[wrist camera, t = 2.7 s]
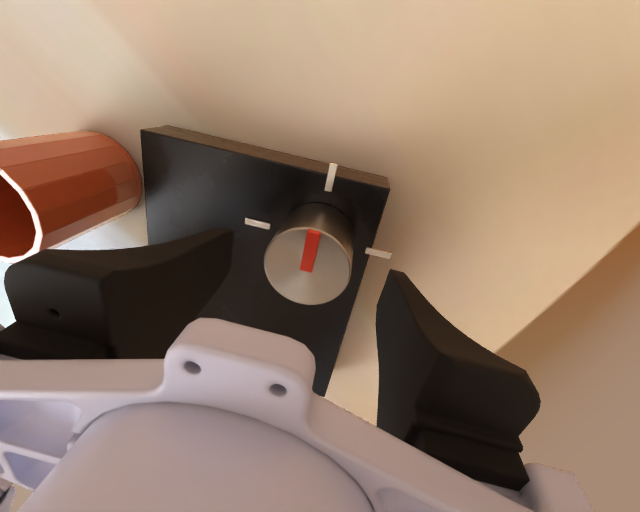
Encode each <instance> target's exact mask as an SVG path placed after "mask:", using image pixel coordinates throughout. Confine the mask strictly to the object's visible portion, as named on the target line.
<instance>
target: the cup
mask: <svg viewBox="0 0 640 512" xmlns="http://www.w3.org/2000/svg"><path fill="white" fill-rule="evenodd" d="M141 191H142V184H141V178H140V174H139V171H138V169H137V167H136V165H135V163H134V161H133V159H132V158H131V156H130V155H129V154H128V153H127V151H126V150H125V149H124V148H123V147H122V146H121V145H119V144H118V143H117V142H116V141H114V140H113V139H111V138H110V137H108V136H106V135H103V134H101V133H98V132H93V131H76V132H68V133H60V134H51V135H43V136H35V137H27V138H19V139H10V140H2V141H0V261H3V262H7V263H16V262H18V261H21V260H23V259H25V258H27V257H29V256H31V255H33V254H35V253H37V252H39V251H41V250H43V249H55V248H57V247H59V246H61V245H63V244H65V243H67V242H69V241H72V240H74V239H76V238H78V237H80V236H82V235H84V234H86V233H88V232H90V231H92V230H94V229H96V228H98V227H100V226H102V225H104V224H106V223H108V222H111V221H113V220H115V219H117V218H119V217H121V216H123V215H124V214H125V213H127V212H129V211H131V210H132V209H133V208H134V207H135V206H136V205H137V204H138V202H139V200H140V197H141Z"/></svg>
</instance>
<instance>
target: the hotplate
mask: <svg viewBox="0 0 640 512" xmlns="http://www.w3.org/2000/svg"><path fill="white" fill-rule="evenodd" d="M140 133H141V147H142V161H143V175H144V189H145V203H146V217H147V231H148V245H155V244H160V243H164V242H168V241H172V240H176V239H180V238H184V237H187V236H191V235H194V234H197V233H201V232H204V231H207V230H211V229H214V228H219V227H222V228H226V229H230V230H234V233H233V246H232V260H231V269H230V271H229V273H228V275H227V277H226V278H225V280H224V282H223V284H222V285H221V286H220V288H219V289H218V290H217V292H216V293H215V294H214V295H213V297H212V298H211V299H210V300H209V302H208V303H207V304H206V305H205V307H204V308H203V309H202V310H201V312H200V313H199V314H198V315H197V317H196V318H195V319H194V320H193V321H195V320H197V319H199V318H217V319H221V320H224V321H228V322H232V323H236V324H240V325H244V326H248V327H252V328H256V329H260V330H264V331H267V332H271V333H275V334H279V335H283V336H287V337H290V338H292V339H294V340H296V341H298V342H300V343H302V344H304V345H305V346H306V347H307V348H308V349H309V350H310V352H311V353H312V354H313V355H314V357H315V368H316V370H315V375H314V380H313V385H312V390H313V392H314V393H315V394H317V395H319V396H322V397H324V396H325V394H326V390H327V387H328V384H329V381H330V378H331V375H332V372H333V368H334V365H335V362H336V359H337V356H338V353H339V349H340V346H341V343H342V340H343V337H344V334H345V331H346V327H347V324H348V321H349V318H350V315H351V312H352V308H353V305H354V302H355V299H356V296H357V293H358V290H359V286H360V283H361V280H362V277H363V274H364V271H365V267H366V264H367V261H368V258H369V255H374V256H378V257H382V258H386V259H390V257H391V255H392V253H391V252H387V251H383V250H379V249H375V248H372V245H373V242H374V239H375V236H376V233H377V230H378V226H379V223H380V220H381V217H382V214H383V211H384V207H385V204H386V201H387V198H388V195H389V192H390V187H389V183H388V178H387V177H383V176H379V175H374V174H370V173H366V172H362V171H358V170H353V169H349V168H345V167H341V166H337V165H338V164H336V163H332V162H331V163H330V164H328V163H324V162H320V161H315V160H311V159H307V158H303V157H299V156H294V155H290V154H286V153H282V152H277V151H273V150H269V149H265V148H261V147H256V146H252V145H248V144H244V143H240V142H235V141H231V140H227V139H223V138H219V137H214V136H210V135H206V134H202V133H197V132H193V131H189V130H185V129H181V128H176V127H172V126H162V127H155V128H148V129H141V130H140ZM310 203H321V204H326V205H329V206H332V207H334V208H336V209H337V210H339V211H340V212H341V213H343V214H344V215H345V217H346V218H347V219H348V220H349V222H350V224H351V226H352V229H353V232H354V248H353V258H352V269H351V276H350V280H349V283H348V285H347V286H346V288H345V289H344V291H343V292H342V293H341V294H340V295H339V296H337V297H336V298H334V299H333V300H331V301H328V302H326V303H322V304H317V305H306V304H300V303H297V302H294V301H291V300H289V299H287V298H285V297H284V296H282V295H281V294H280V293H279V292H278V291H276V290H275V288H274V287H273V286H272V285H271V283H270V282H269V280H268V278H267V275H266V273H265V268H264V256H265V252H266V249H267V247H268V245H269V244H270V242H271V241H272V239H273V238H274V236H275V235H276V233H277V232H278V230H279V229H280V227H281V226H282V224H283V223H284V221H285V220H286V218H287V217H288V216H289V214H290V213H291V212H292V211H294V210H295V209H296V208H298V207H300V206H303V205H305V204H310Z"/></svg>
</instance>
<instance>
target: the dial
mask: <svg viewBox="0 0 640 512" xmlns="http://www.w3.org/2000/svg"><path fill="white" fill-rule="evenodd" d="M353 248H354V232H353V229H352V226H351V224H350V222H349V220H348V219H347V218H346V217H345V215H344V214H343V213H341V212H340V211H339V210H337V209H336V208H334V207H332V206H329V205H326V204H321V203H310V204H305V205H303V206H300V207H298V208H296V209H295V210H294V211H292V212H291V213H290V214H289V216H288V217H287V218H286V220H285V221H284V223H283V224H282V226H281V227H280V229H279V230H278V232H277V233H276V235H275V236H274V238H273V239H272V241H271V242H270V244H269V245H268V247H267V249H266V252H265V256H264V268H265V273H266V275H267V278H268V280H269V282H270V283H271V285H272V286H273V287H274V288H275V290H276V291H278V292H279V293H280V294H281V295H282V296H284V297H285V298H287V299H289V300H291V301H294V302H297V303H300V304H306V305H317V304H322V303H326V302H328V301H331V300H333V299H334V298H336V297H337V296H339V295H340V294H341V293H342V292H343V291H344V289H345V288H346V286H347V285H348V283H349V280H350V276H351V269H352V258H353Z"/></svg>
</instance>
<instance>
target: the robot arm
mask: <svg viewBox="0 0 640 512" xmlns="http://www.w3.org/2000/svg"><path fill="white" fill-rule="evenodd" d="M233 233H234V230H230V229H226V228H222V227H219V228H214V229H211V230H207V231H204V232H201V233H197V234H194V235H191V236H187V237H184V238H180V239H176V240H172V241H168V242H164V243H160V244H155V245H149V246H143V247H135V248H125V249H114V250H58V249H43V250H41V251H39V252H37V253H35V254H33V255H31V256H29V257H27V258H25V259H23V260H21V261H18V262H16V263H15V264H13V265H11V266H9V268H8V269H7V271H6V272H5V278H4V285H5V290H6V293H7V296H8V299H9V302H10V305H11V308H12V311H13V313H14V316H15V319H16V322H14V323H13V324H11V325H10V326H8V327H7V328H4V327H3V326H2V325H1V324H0V512H10V510H11V508H12V504H13V500H14V497H15V493H16V492H15V489H14V487H12V486H11V485H12V484H13V483H15V484H17V485H19V486H22V487H24V488H26V489H28V490H31V491H33V493H32V494H31V496H30V497H29V498H28V499H27V500H26V502H25V503H24V504H23V505H22V506H21V507H20V509H19V510H18V511H17V512H594V510H593V508H592V506H591V505H590V503H589V501H588V499H587V497H586V495H585V493H584V492H583V490H582V488H581V486H580V484H579V482H578V481H577V479H576V477H575V475H574V474H573V473H571V472H568V471H565V470H561V469H557V468H553V467H549V466H546V465H542V464H537V463H528V464H525V465H523V462H522V460H521V458H520V455H519V453H518V452H522V450H523V446H522V444H521V441H520V439H519V437H518V436H519V435H520V434H521V433H522V431H523V430H524V429H525V428H526V427H527V426H528V424H529V423H530V422H531V421H532V420H533V419H534V417H535V416H536V414H537V412H538V411H539V408H540V402H541V401H540V397H539V393H538V391H537V390H536V388H535V386H534V384H533V383H532V381H531V379H530V377H529V376H528V374H527V372H526V371H525V370H524V369H522V368H520V367H518V366H516V365H514V364H512V363H510V362H508V361H506V360H504V359H503V358H501V357H499V356H497V355H495V354H494V353H492V352H491V351H489V350H487V349H486V348H484V347H482V346H481V345H479V344H478V343H476V342H475V341H473V340H472V339H470V338H469V337H468V336H466V335H465V334H464V333H462V332H461V331H460V330H458V329H457V328H456V327H455V326H453V325H452V324H451V323H450V322H449V321H448V320H446V319H445V318H444V317H443V316H442V315H441V314H440V313H439V312H438V311H437V310H436V309H435V308H434V307H433V306H432V305H431V304H430V303H429V302H428V301H427V299H426V298H425V297H424V296H423V295H422V294H421V293H420V291H419V290H418V289H417V288H416V286H415V285H414V284H413V283H412V281H411V280H410V279H409V278H408V277H407V275H406V274H405V273H404V272H400V271H396V270H392V269H390V271H389V274H388V276H387V279H386V282H385V285H384V287H383V290H382V293H381V296H380V298H379V301H378V304H377V311H376V336H377V349H378V361H379V394H378V413H377V427H376V426H374V425H372V424H370V423H369V422H367V421H365V420H363V419H361V418H359V417H358V416H356V415H354V414H352V413H350V412H348V411H347V410H345V409H343V408H341V407H339V406H337V405H336V404H334V403H332V402H330V401H328V400H326V399H325V398H323V397H321V396H319V395H317V394H315V393H314V392H313V390H312V385H313V380H314V375H315V370H316V368H315V357H314V355H313V354H312V353H311V352H310V350H309V349H308V348H307V347H306V346H305V345H304V344H302V343H300V342H298V341H296V340H294V339H292V338H290V337H287V336H283V335H279V334H275V333H271V332H267V331H264V330H260V329H256V328H252V327H248V326H244V325H240V324H236V323H232V322H228V321H224V320H221V319H217V318H199V319H197V320H195V321H193V320H194V319H195V318H196V317H197V315H198V314H199V313H200V312H201V310H202V309H203V308H204V307H205V305H206V304H207V303H208V302H209V300H210V299H211V298H212V297H213V295H214V294H215V293H216V292H217V290H218V289H219V288H220V286H221V285H222V284H223V282H224V280H225V278H226V277H227V275H228V273H229V271H230V269H231V260H232V246H233Z"/></svg>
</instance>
